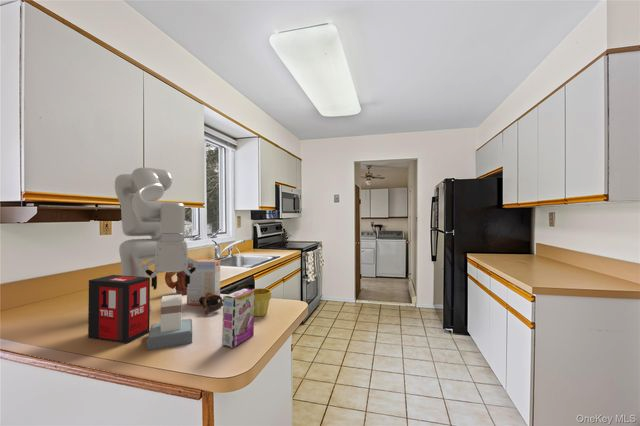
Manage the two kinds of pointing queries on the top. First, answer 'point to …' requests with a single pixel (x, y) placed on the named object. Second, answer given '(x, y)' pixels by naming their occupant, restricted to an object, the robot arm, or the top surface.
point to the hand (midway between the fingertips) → (171, 287)
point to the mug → (179, 283)
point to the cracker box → (203, 281)
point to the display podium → (169, 335)
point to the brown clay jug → (211, 303)
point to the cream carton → (171, 312)
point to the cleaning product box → (118, 308)
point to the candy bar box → (238, 317)
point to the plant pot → (261, 301)
